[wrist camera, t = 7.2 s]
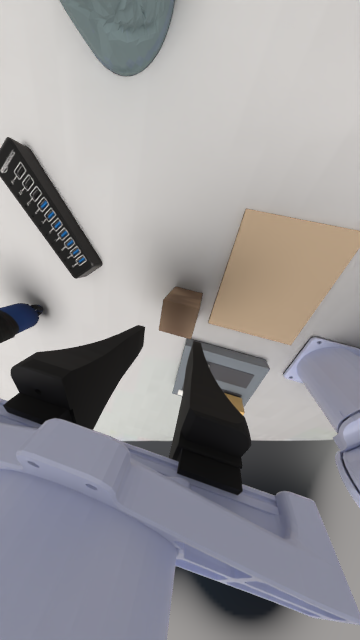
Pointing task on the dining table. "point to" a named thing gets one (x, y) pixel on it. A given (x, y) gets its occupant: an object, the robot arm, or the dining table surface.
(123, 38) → the green cup
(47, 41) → the dining table surface
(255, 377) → the switch panel
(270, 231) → the mat
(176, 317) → the block
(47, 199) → the multiport hub
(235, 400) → the switch tab
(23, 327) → the flashlight
